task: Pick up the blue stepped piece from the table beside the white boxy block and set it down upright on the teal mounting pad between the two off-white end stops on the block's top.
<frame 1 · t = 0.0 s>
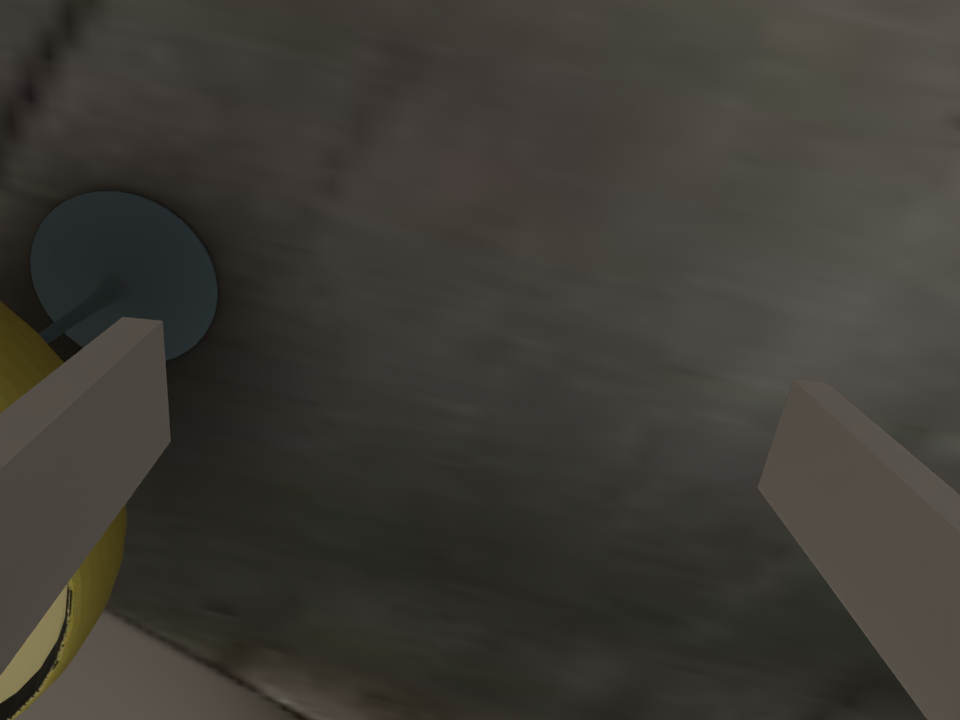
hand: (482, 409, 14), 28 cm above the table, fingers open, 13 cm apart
cocktail glass: (128, 280, 42), on the table
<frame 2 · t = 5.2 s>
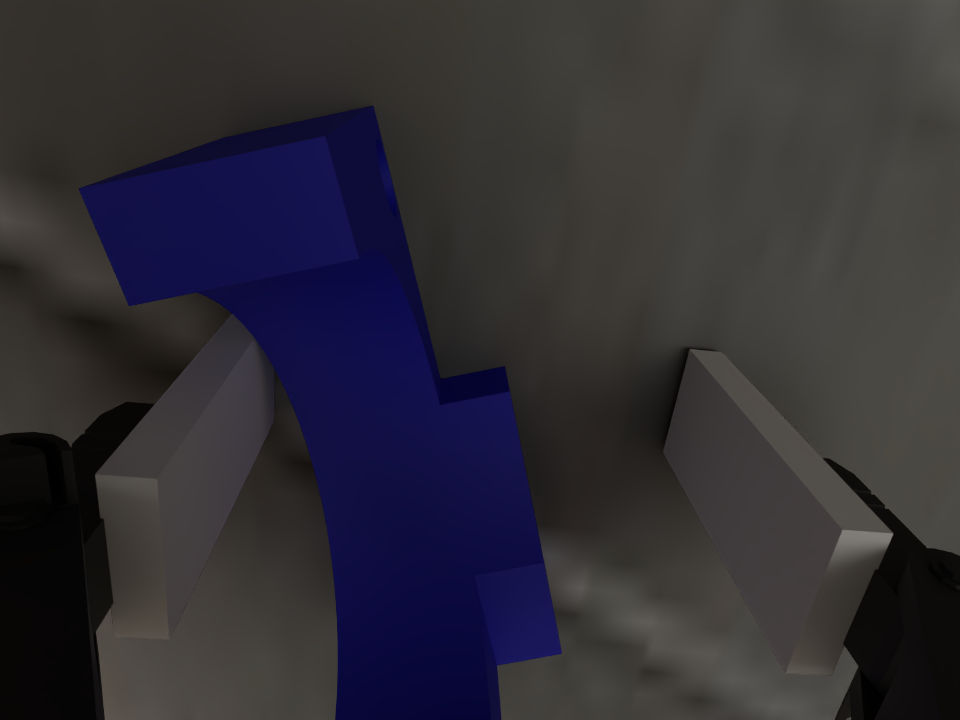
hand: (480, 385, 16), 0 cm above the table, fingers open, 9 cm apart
blue stepped piece: (409, 377, 16), on the table
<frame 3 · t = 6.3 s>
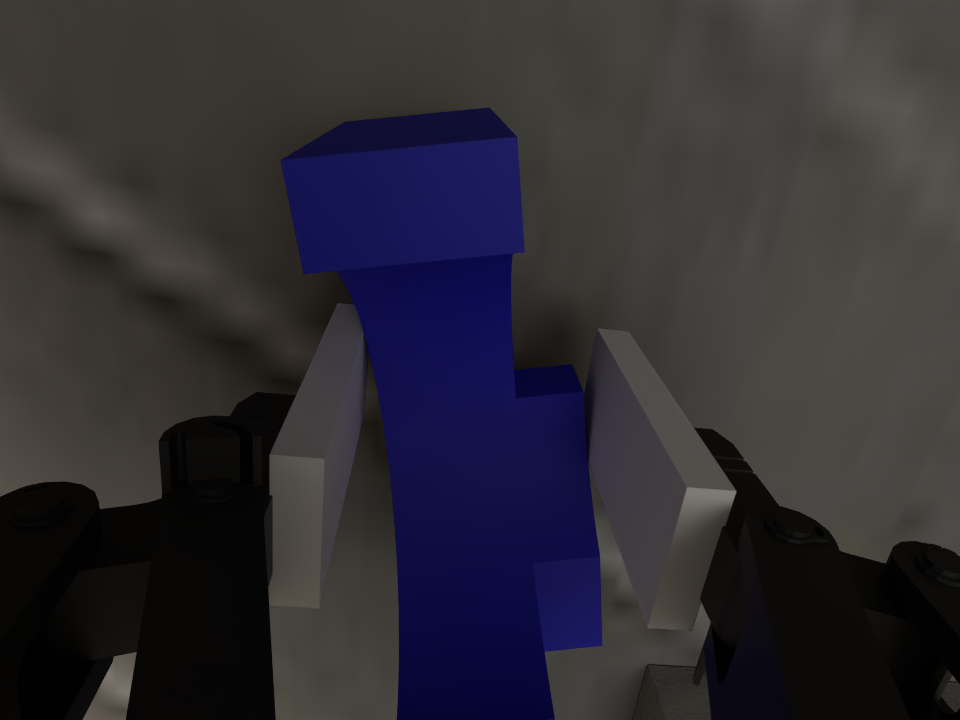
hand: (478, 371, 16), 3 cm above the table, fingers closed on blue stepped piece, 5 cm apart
blue stepped piece: (478, 370, 17), point 3 cm above the table, touching gripper
when the fingers open (9 cm above the table, at t = 11.3 s): blue stepped piece stays where it is, resting on white boxy block.
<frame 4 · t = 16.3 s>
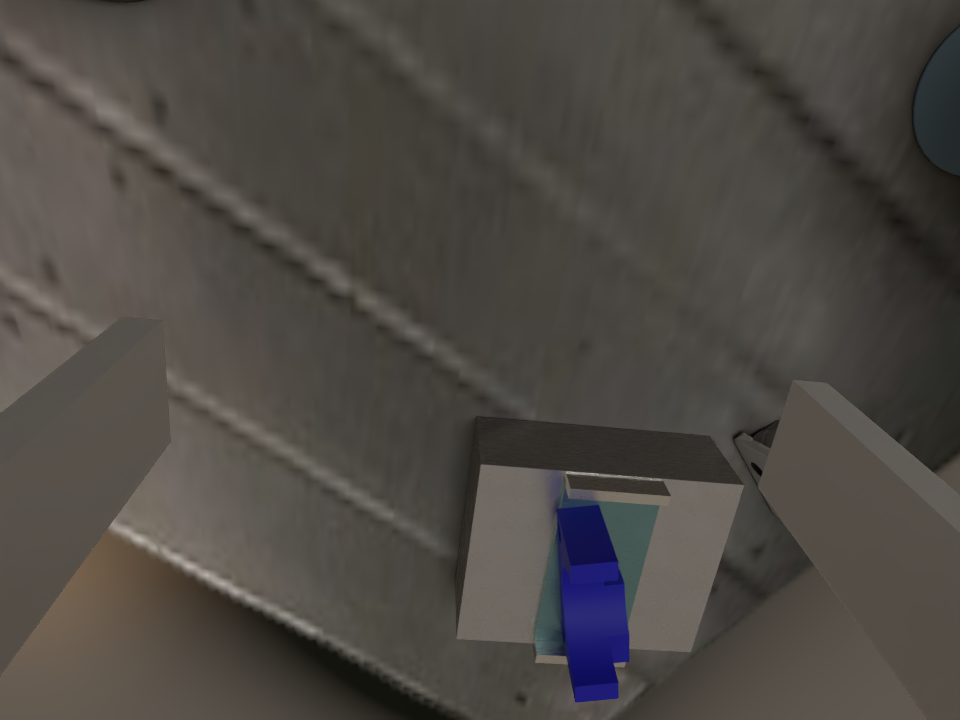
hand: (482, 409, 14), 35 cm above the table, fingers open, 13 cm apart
electrical switch: (779, 456, 57), on the table
white boxy block: (577, 509, 58), on the table
blue stepped piece: (589, 570, 51), point 7 cm above the table, touching white boxy block
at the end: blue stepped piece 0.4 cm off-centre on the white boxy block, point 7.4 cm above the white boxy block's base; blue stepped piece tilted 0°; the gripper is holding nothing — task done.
